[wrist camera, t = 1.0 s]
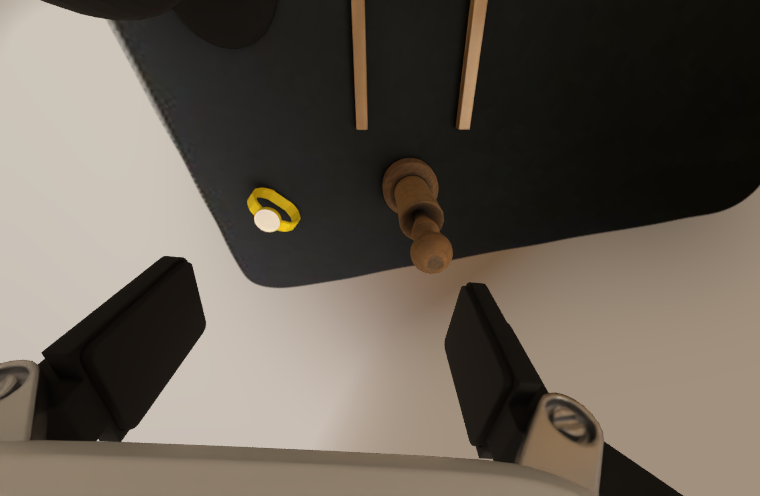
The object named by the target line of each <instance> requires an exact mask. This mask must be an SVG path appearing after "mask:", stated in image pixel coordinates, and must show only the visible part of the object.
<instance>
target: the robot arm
mask: <svg viewBox="0 0 760 496" xmlns="http://www.w3.org/2000/svg"><path fill="white" fill-rule="evenodd" d="M205 326H206V321H205V316H204V312H203V308H202V304H201V300H200V296H199V292H198V287H197V283H196V279H195V275H194V271H193V267H192V264H191V263H189V262H187V260H186V259H185V258H182V257H170V256H164V257H162V258H160V259H159V260H158V261H157V262H155V263H154V264H153V265H152V266H150V267H149V268H148V269H146V270H145V271H144V272H143V273H141V274H140V275H139V276H138V277H137V278H135V279H134V280H133V281H131V282H130V283H129V284H127V285H126V286H125V287H124V288H123V289H121V290H120V291H119V292H117V293H116V294H115V295H114V296H112V297H111V298H110V299H108V300H107V301H106V302H105V303H103V304H102V305H101V306H100V307H99V308H97V309H96V310H95V311H93V312H92V313H91V314H89V315H88V316H87V317H86V318H85V319H83V320H82V321H81V322H80V323H78V324H77V325H76V326H74V327H73V328H72V329H71V330H69V331H68V332H67V333H66V334H64V335H63V336H62V337H60V338H59V339H58V340H57V341H56V342H54V343H53V344H52V345H50V346H49V347H48V348H47V349H45V350H44V351H43V352H42V354H43V356H44V357H45V359H44V360H43V361H42V362H40V363H39V364H38V365H37V364H36V363H35V362H33V361H28V360H16V361H9V362H5V363H1V364H0V496H683V495H681V494H680V493H678V492H677V491H676V490H674V489H673V488H671V487H670V486H668V485H667V484H665V483H664V482H662V481H661V480H659V479H658V478H656V477H655V476H654V475H652V474H651V473H649V472H648V471H646V470H645V469H643V468H642V467H640V466H639V465H638V464H636V463H635V462H633V461H632V460H630V459H629V458H627V457H626V456H625V455H623V454H621V453H620V452H619V451H617V450H616V449H614V448H613V447H611V446H610V445H609V444H607V443H606V442H604V437H603V431H602V429H601V427H600V425H599V423H598V421H597V420H596V419H595V417H594V416H593V414H591V412H590V411H588V410H587V409H586V408H585V407H584V406H583V405H581V404H580V403H579V402H577V401H576V400H574V399H572V398H570V397H568V396H566V395H563V394H559V393H548V391H547V389H546V388H545V386H544V384H543V382H542V381H541V379H540V377H539V375H538V373H537V372H536V370H535V368H534V367H533V365H532V363H531V361H530V359H529V358H528V356H527V354H526V352H525V351H524V349H523V347H522V345H521V344H520V342H519V340H518V338H517V336H516V335H515V333H514V331H513V329H512V328H511V327H510V325H509V324H508V323H507V322H506V320H505V318H504V316H503V314H502V313H501V311H500V309H499V307H498V306H497V304H496V302H495V300H494V298H493V297H492V295H491V293H490V291H489V289H488V288H487V286H486V285H485V284H482V283H471V282H469V283H467V285H466V286H462V287H461V290H460V293H459V296H458V299H457V303H456V306H455V309H454V312H453V316H452V319H451V322H450V325H449V328H448V331H447V335H446V338H445V351H446V355H447V359H448V362H449V366H450V370H451V374H452V377H453V381H454V385H455V389H456V392H457V396H458V400H459V404H460V407H461V411H462V415H463V419H464V423H465V426H466V430H467V434H468V437H469V441H470V443H471V445H473V446H476V449H477V452H478V456H479V458H487V459H493V461H489V460H478V459H463V458H450V457H435V456H418V455H400V454H397V455H396V454H380V453H360V452H339V451H319V450H318V451H317V450H297V449H274V448H253V447H252V448H251V447H230V446H207V445H182V444H157V443H131V442H121V441H122V439H123V438H124V437H125V435H126V434H127V432H128V431H129V430H130V429H133V428H135V427H136V426H137V425H138V424H139V423H140V421H141V420H142V418H143V417H144V416H145V414H146V413H147V411H148V410H149V409H150V407H151V406H152V404H153V403H154V401H155V400H156V399H157V397H158V396H159V394H160V393H161V392H162V390H163V389H164V387H165V386H166V384H167V383H168V382H169V380H170V379H171V377H172V376H173V375H174V373H175V372H176V370H177V369H178V367H179V366H180V365H181V363H182V362H183V360H184V359H185V358H186V356H187V355H188V353H189V352H190V350H191V349H192V347H193V346H194V345H195V343H196V342H197V341H198V339H199V338H200V336H201V335H202V334H203V332H204V330H205ZM97 439H99V441H97ZM101 441H109V442H101Z"/></svg>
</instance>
